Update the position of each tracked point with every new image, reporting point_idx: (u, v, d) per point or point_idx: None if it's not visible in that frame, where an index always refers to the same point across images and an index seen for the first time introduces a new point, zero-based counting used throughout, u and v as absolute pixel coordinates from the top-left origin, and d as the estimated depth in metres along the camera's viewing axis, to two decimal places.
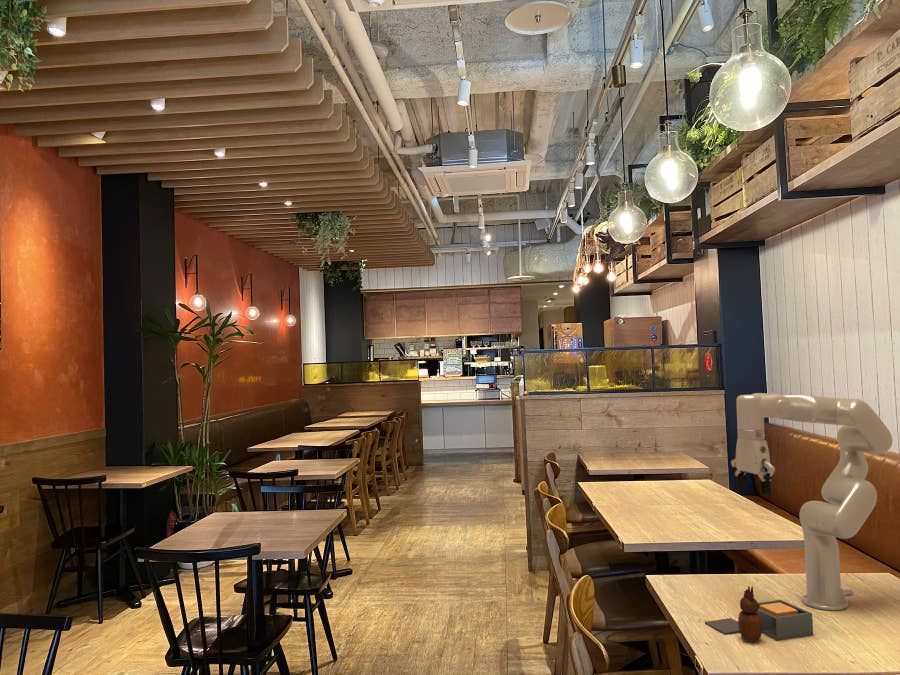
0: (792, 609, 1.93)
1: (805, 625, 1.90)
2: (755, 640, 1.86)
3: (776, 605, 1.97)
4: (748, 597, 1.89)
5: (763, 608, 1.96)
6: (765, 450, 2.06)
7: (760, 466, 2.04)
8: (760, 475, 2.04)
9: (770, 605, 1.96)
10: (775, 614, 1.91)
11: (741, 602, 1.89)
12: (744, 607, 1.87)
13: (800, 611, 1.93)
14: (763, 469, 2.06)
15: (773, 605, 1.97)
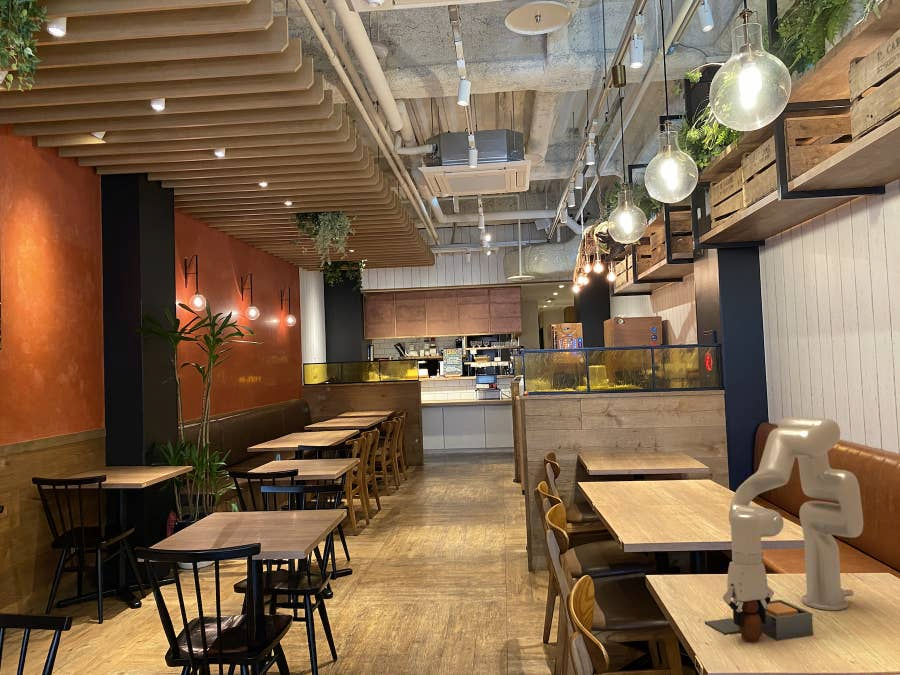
0: (792, 609, 1.93)
1: (805, 625, 1.90)
2: (755, 640, 1.86)
3: (776, 605, 1.97)
4: None
5: None
6: None
7: None
8: (764, 602, 1.89)
9: (770, 605, 1.96)
10: (775, 614, 1.91)
11: None
12: (744, 607, 1.87)
13: (800, 611, 1.93)
14: None
15: (773, 605, 1.97)
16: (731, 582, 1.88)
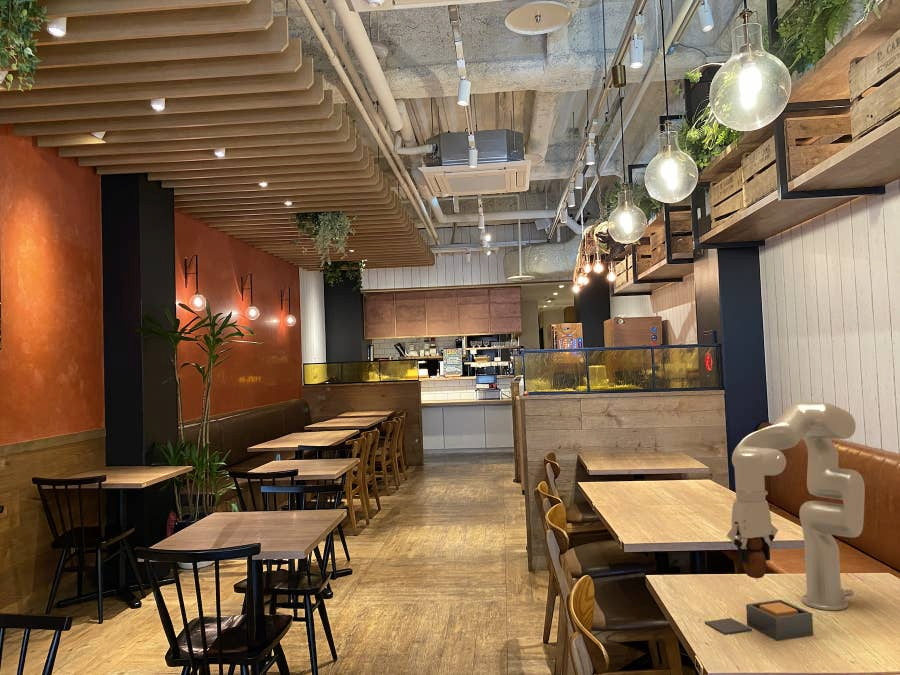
0: (792, 609, 1.93)
1: (805, 625, 1.90)
2: (759, 576, 1.88)
3: (776, 605, 1.97)
4: None
5: (763, 608, 1.96)
6: None
7: None
8: (768, 539, 1.91)
9: (770, 605, 1.96)
10: (775, 614, 1.91)
11: None
12: (748, 544, 1.90)
13: (800, 611, 1.93)
14: None
15: (773, 605, 1.97)
16: (735, 520, 1.90)
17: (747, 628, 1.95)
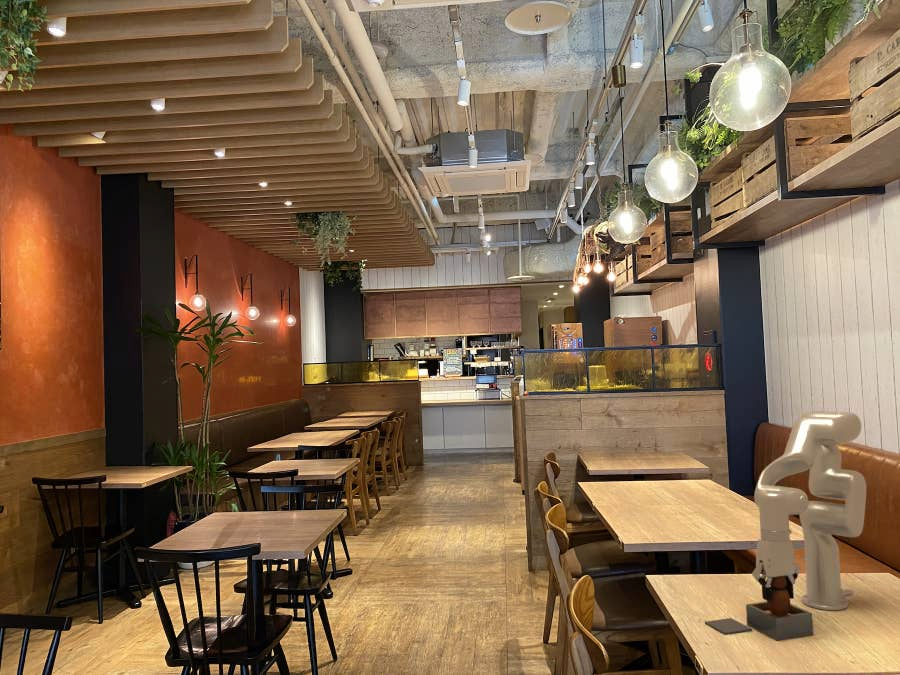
0: None
1: (805, 625, 1.90)
2: (784, 614, 1.92)
3: None
4: None
5: None
6: None
7: None
8: (791, 577, 1.95)
9: (770, 612, 1.96)
10: None
11: None
12: (773, 582, 1.94)
13: (800, 611, 1.93)
14: None
15: None
16: (760, 559, 1.94)
17: (747, 628, 1.95)
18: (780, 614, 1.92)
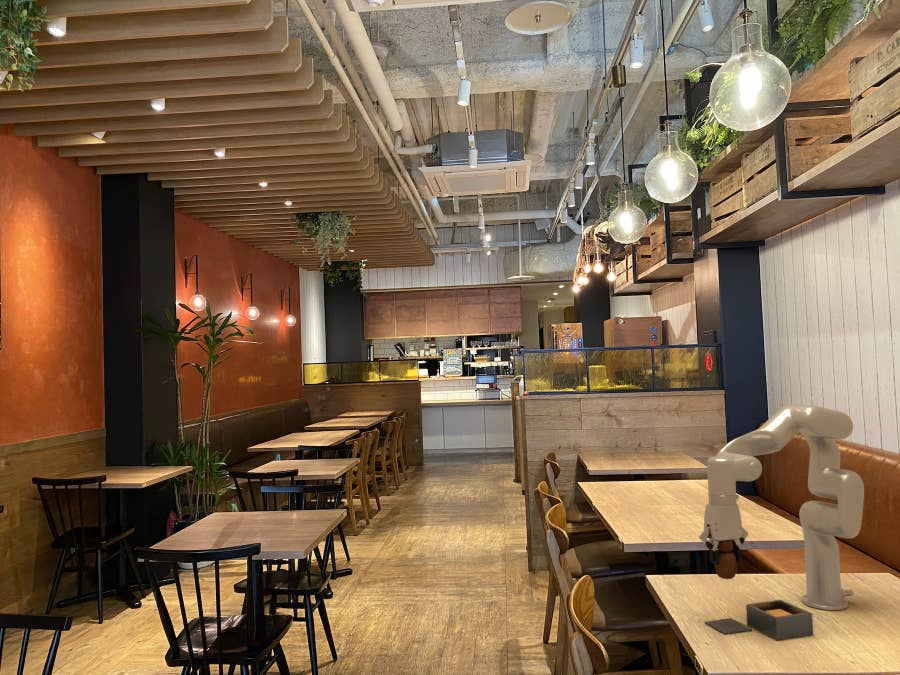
0: None
1: (805, 625, 1.90)
2: (730, 577, 1.96)
3: (777, 612, 1.97)
4: None
5: None
6: None
7: None
8: (738, 541, 1.99)
9: (770, 612, 1.96)
10: None
11: None
12: (720, 546, 1.97)
13: (800, 611, 1.93)
14: None
15: (773, 612, 1.97)
16: (707, 523, 1.98)
17: (747, 628, 1.95)
18: (726, 577, 1.96)
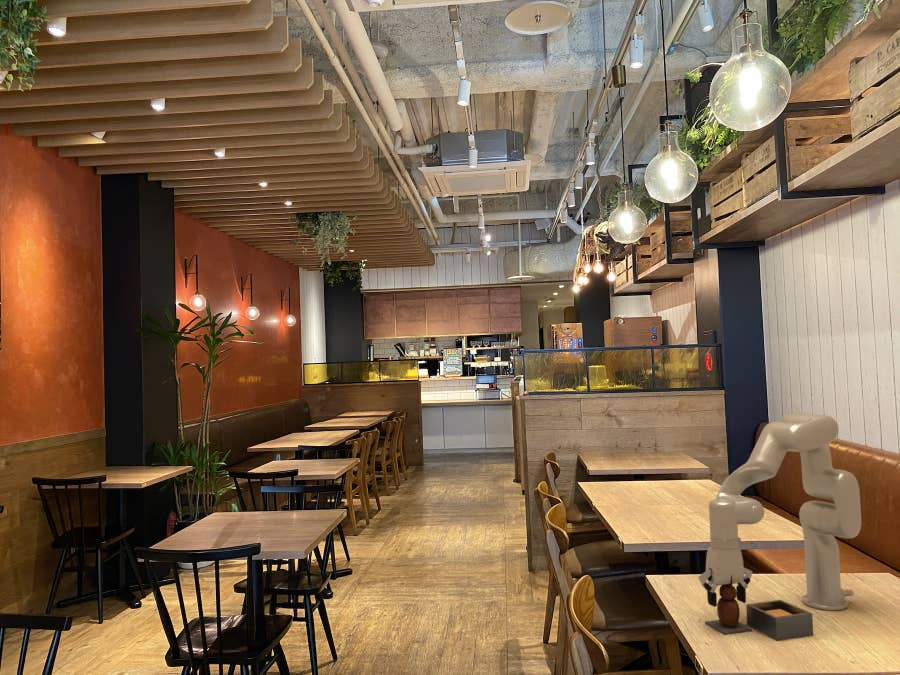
0: None
1: (805, 625, 1.90)
2: (733, 625, 1.95)
3: (777, 612, 1.97)
4: (727, 584, 1.98)
5: None
6: None
7: None
8: (743, 582, 1.98)
9: (770, 612, 1.96)
10: None
11: (720, 589, 1.98)
12: (723, 594, 1.96)
13: (800, 611, 1.93)
14: None
15: (773, 612, 1.97)
16: (709, 566, 1.97)
17: (747, 628, 1.95)
18: (729, 625, 1.95)
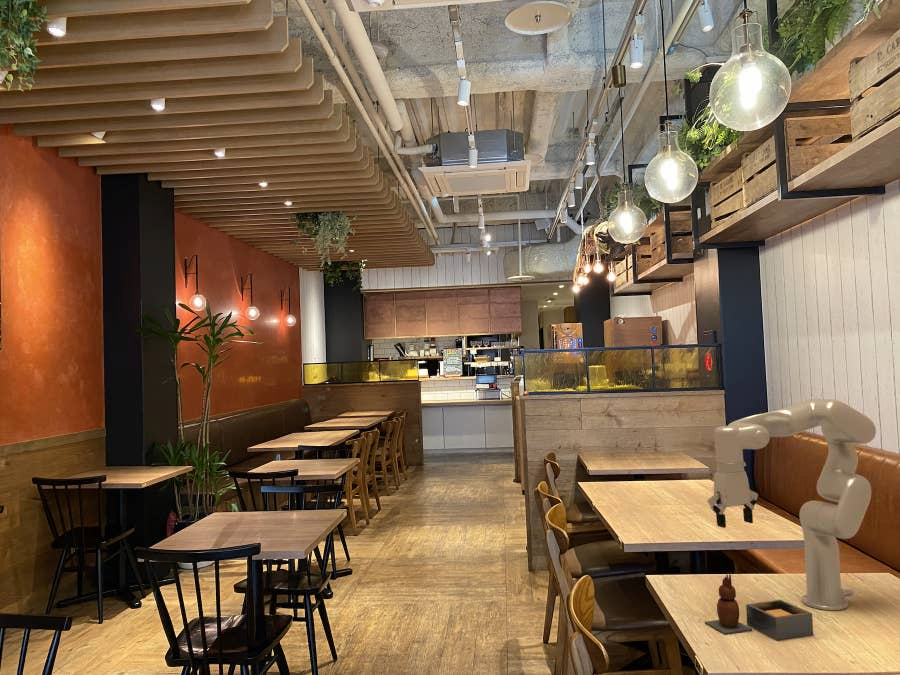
0: None
1: (805, 625, 1.90)
2: (733, 625, 1.95)
3: (777, 612, 1.97)
4: (726, 584, 1.98)
5: None
6: None
7: None
8: (749, 504, 2.07)
9: (770, 612, 1.96)
10: None
11: (720, 589, 1.98)
12: (723, 594, 1.97)
13: (800, 611, 1.93)
14: None
15: (773, 612, 1.97)
16: (717, 490, 2.06)
17: (747, 628, 1.95)
18: (729, 625, 1.95)
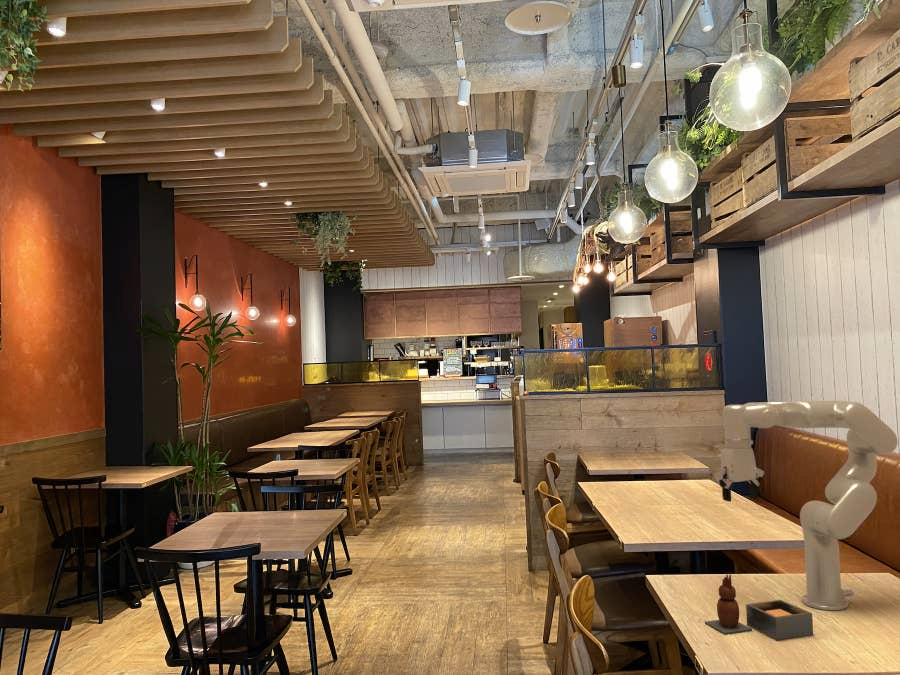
0: None
1: (805, 625, 1.90)
2: (733, 625, 1.95)
3: (777, 612, 1.97)
4: (726, 584, 1.98)
5: None
6: None
7: None
8: (755, 480, 2.14)
9: (770, 612, 1.96)
10: None
11: (720, 589, 1.98)
12: (723, 594, 1.97)
13: (800, 611, 1.93)
14: None
15: (773, 612, 1.97)
16: (724, 465, 2.14)
17: (747, 628, 1.95)
18: (729, 625, 1.95)
